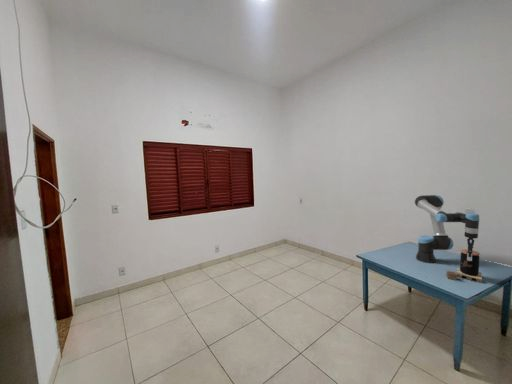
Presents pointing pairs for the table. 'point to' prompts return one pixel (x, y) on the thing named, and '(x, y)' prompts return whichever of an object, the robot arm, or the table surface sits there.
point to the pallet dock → (468, 277)
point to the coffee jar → (469, 263)
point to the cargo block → (451, 275)
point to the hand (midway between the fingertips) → (469, 257)
